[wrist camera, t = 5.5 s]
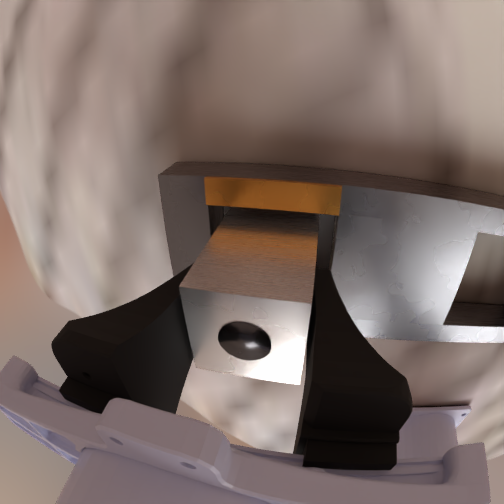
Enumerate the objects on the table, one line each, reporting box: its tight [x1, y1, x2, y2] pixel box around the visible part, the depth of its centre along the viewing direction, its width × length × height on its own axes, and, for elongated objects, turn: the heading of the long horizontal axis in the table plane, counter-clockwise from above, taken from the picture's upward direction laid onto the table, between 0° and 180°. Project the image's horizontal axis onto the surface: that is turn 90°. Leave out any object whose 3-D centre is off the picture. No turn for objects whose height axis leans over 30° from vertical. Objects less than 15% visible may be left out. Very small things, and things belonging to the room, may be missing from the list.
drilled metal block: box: [179, 207, 320, 385], centre depth 13 cm, size 4×4×7 cm
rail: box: [158, 162, 504, 343], centre depth 14 cm, size 8×22×2 cm, turn 92°
